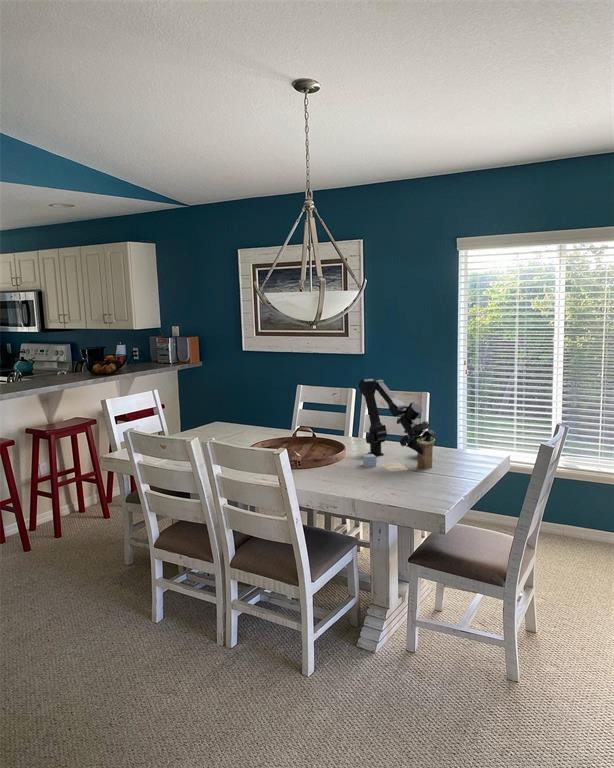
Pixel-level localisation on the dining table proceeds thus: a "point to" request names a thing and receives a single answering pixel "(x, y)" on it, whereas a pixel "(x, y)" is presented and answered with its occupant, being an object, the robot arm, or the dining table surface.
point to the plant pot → (430, 441)
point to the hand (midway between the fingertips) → (426, 452)
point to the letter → (395, 467)
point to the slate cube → (369, 460)
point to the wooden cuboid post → (425, 455)
